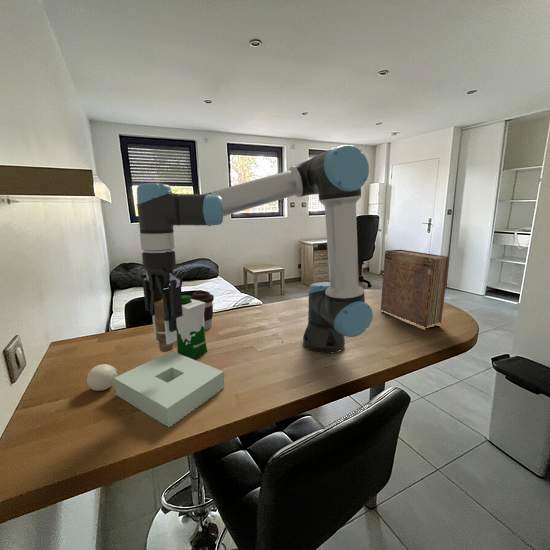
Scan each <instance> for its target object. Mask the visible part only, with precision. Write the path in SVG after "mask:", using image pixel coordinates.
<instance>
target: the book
mask: <svg viewBox="0 0 550 550" xmlns="http://www.w3.org/2000/svg"><path fill="white" fill-rule="evenodd" d="M384 251H385V252H384V259H383V260H384V261H383V274H382V276H383V277H382V286H381V287H382V290H381V299H380V301H381V302H380V311H381V310H383V311H386V312H388V313H391V314H393V315H396V316H398V317H401V318H403V319H406V320H409V321H411V322H414V323H416V324H419V325H421V326H424V327H427V326H429V325H432V324H436V323H439V322H440V323H441V324H442V317H443V310H444V303H445V295H446V288H447V281H448V273H449V265H450V256H447V255H440V254H432V253H426V252H419V251H413V250H406V249H405V250H404V249H392V250H384Z"/></svg>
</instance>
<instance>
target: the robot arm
mask: <svg viewBox="0 0 550 550" xmlns="http://www.w3.org/2000/svg"><path fill="white" fill-rule="evenodd" d="M369 174H370V166H369V161H368V158H367V157H366V155H365V153H364V152H362V150H361V149H359V147H357V146H354V145H352V144H344V145H343V144H342V145H339V146H334V147H332V148H330V149H329V150H326V151H324V152H322V153H319V154H317V155H314V156H313V157H311V158H310V159H307V160H305V161H303V162H301V163H299V164H295V165H291V166H290V167H289V169H288V170H286V171H283V172H279V173H275V174H272V175H268V176H264V177H262V178H261V177H260V178H258V179H253V180H251V181H246V182H242V183H240V184H236V185H232V186H228V187H224V188H221V189H217V190H214V191H210V192H207V193H203V194H202V193H200V194H197V193H193V194H192V193H173V191H172V189H171V186H170V185H169V184H165V183H141V184H139V185H138V186H137V187H136V201H137V203H136V207H137V217H138V224H139V225H138V226H139V232H140V233H139V236H140V249H141V250H143V252H142V253H141V257H142V258H141V259H142V266H143V268H144V269H147V271H146V272H145V273H140V279H141V282H142V288H143V289H142V290H143V297H144V307H145V311H147V312H149V313H150V316H151V319H152V328H153V336H154V337H153V338H154V340H155V341H158V340H157V333H156V320H155V308H154V302H155V301H157V300H162V299H163V303H164V308H165V313H166V318H165V319H164V322H165V334H166V344H171V343H175V342H177V331H176V330H177V322H176V319H177V318H178V317H181V316H182V295H183V294H182V285H183V278H181V277H180V278H178V277H176V276H175V273H174V269H173V268H174V267H175V266H176V263H177V261H176V252H175V250H174V249H175V235H174V226H178V227H179V226H196V227H197V226H207V227H211V226H220V225H222V224H223V221H224V217H226V216H228V215H229V216H230V215H232V214H235V213H240V212H242V211H246V210H250V209H253V208H256V207H259V206H260V207H261V206H264V205H266V204H270V203H273V202H277V201H280V200H283V199H286V198H291V197H293V196H294V197H296V198H302V197H305V196H312V195H313V196H314V195H318V201H319V203H320V204H321V205H323V207H324V215H325V217H324V218H325V230H326V231H325V232H326V244H327V245H326V248H327V262H328V263H327V264H328V278H329V281H323V282H321V281H320V282H314V283H312V284H310V285H309V286H308V287H309V289H308V293H307V294H308V313H307V314H308V315H307V319H308V320H307V325H306V328H305V331H304V332H303V333H304V334H303V337H302V344H303V346H304V347H305V348H306V349H307V348H308V351H311V352H314V351H315V353H318V352H320V354H332V353H331V352H335V353H338V352H337V351H339V350H341V349H342V350H343V349H344V348H345V347H344V346H345V344H346V340H345V337H347V338H353V337H358V336H360V335H362V334H364V333H365V332H366V330H367V329H368V328H369V327H370V326H371V324H372V321H373V317H374V315H373V314H374V313H373V309H372V307H371V306H370V305H369V304H368V303H367V302H365V301H366V299H365V296H366V295H365V289H364V288H363V287H362V286H361V285H360V280H359V253H358V251H359V250H358V249H359V248H358V228H357V227H358V226H357V223H358V222H357V203H358V201H359V200H360V199H361V197H362V187H363V186H364V185H365V183H366V182H367V180H368V177H369ZM342 350H341V351H342ZM339 352H340V351H339Z"/></svg>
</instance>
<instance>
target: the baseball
mask: <svg viewBox="0 0 550 550" xmlns="http://www.w3.org/2000/svg"><path fill="white" fill-rule="evenodd" d="M117 376H119V375H118V370H117V369H116V368H115V367H114V366H112V365H110V364H106V363H105V364H98V365H96V366H94V367H92V368H91V369H90V370H89V371H88V373H87V376H86V382H87V385H88V386H89V388H90V389H91V390H93V391H99V392H101V391H105V390H107V389H109V388H110V387H111V386H113V384H115V383H114V378H115V377H117Z"/></svg>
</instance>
